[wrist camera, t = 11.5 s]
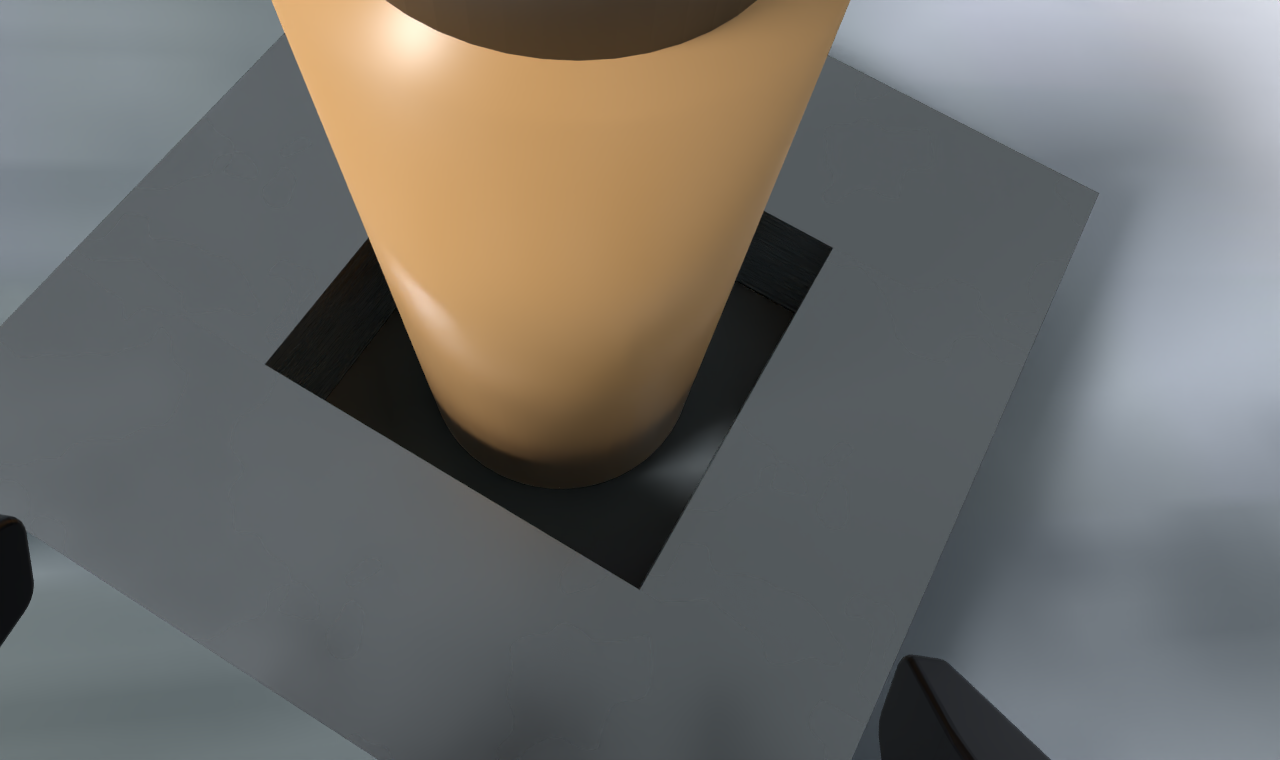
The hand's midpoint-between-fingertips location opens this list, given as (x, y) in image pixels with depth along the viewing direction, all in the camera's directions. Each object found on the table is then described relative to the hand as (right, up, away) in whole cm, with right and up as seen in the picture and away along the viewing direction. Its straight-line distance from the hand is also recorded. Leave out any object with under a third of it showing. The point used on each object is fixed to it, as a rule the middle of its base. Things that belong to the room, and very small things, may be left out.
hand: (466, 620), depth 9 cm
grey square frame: (0, +3, +10) cm, 10 cm away
